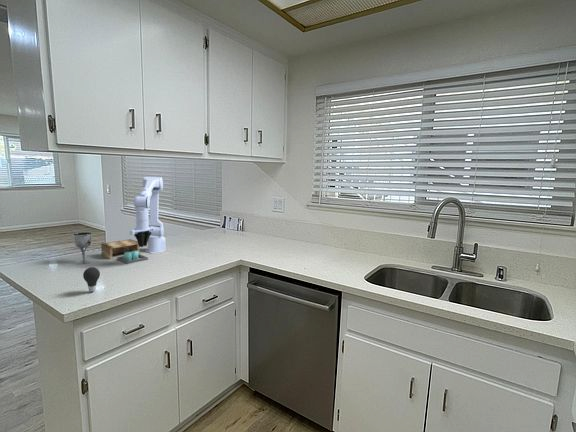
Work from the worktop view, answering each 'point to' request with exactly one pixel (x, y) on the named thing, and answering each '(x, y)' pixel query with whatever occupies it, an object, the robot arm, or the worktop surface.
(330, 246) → the worktop surface
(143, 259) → the tray
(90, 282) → the light bulb
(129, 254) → the teal rounded capsule
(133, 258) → the teal rounded cylinder
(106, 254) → the shelf
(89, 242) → the wine glass
